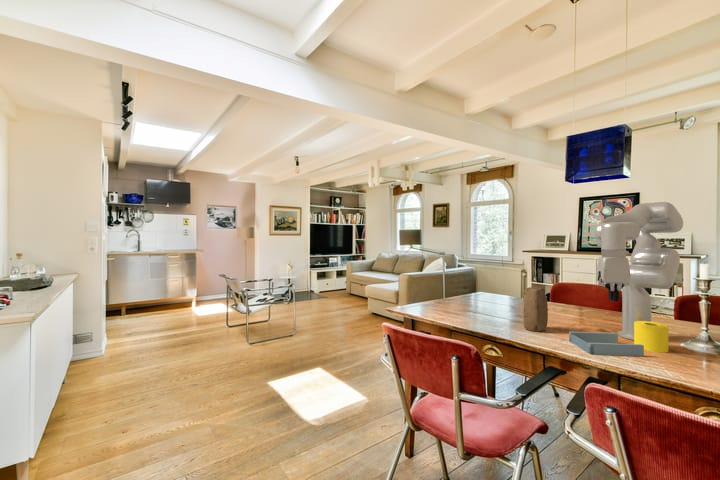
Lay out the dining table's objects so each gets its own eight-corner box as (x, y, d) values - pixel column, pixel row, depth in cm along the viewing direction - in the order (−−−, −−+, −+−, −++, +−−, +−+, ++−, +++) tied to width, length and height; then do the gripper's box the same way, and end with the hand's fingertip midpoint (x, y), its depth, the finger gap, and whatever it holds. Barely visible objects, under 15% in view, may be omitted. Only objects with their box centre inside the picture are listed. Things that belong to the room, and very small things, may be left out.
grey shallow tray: (616, 342, 133) (616, 332, 133) (643, 356, 117) (643, 345, 117) (569, 340, 135) (569, 331, 135) (590, 354, 120) (590, 343, 120)
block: (537, 333, 146) (536, 289, 146) (521, 329, 153) (521, 287, 153) (550, 329, 152) (550, 287, 152) (534, 325, 158) (534, 285, 158)
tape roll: (645, 342, 132) (645, 320, 132) (675, 351, 122) (675, 326, 122) (627, 345, 129) (627, 322, 129) (656, 353, 120) (656, 328, 120)
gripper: (627, 253, 128) (628, 298, 129) (587, 253, 130) (587, 298, 131) (641, 254, 121) (642, 302, 121) (598, 255, 123) (599, 302, 123)
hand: (613, 300), depth 126 cm, fingers closed
